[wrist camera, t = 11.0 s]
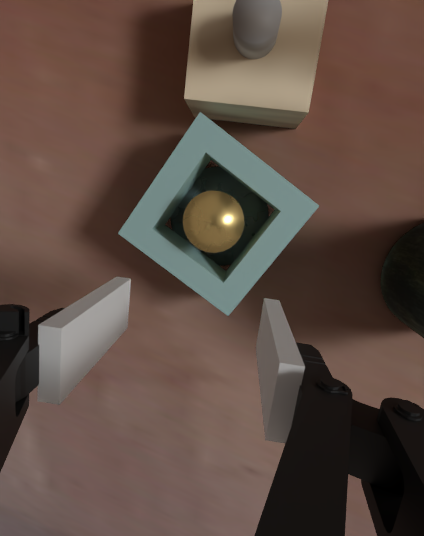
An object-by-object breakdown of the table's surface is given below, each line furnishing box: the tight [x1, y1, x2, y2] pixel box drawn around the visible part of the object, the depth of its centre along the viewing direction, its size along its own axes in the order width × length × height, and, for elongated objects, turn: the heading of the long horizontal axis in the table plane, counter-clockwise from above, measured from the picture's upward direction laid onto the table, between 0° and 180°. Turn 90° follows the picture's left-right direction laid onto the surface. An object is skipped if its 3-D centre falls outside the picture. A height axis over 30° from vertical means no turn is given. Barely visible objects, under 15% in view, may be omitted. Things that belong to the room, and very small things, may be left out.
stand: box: [184, 0, 328, 129], centre depth 22 cm, size 8×8×7 cm
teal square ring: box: [118, 112, 319, 316], centre depth 24 cm, size 10×10×4 cm
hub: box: [171, 167, 268, 266], centre depth 24 cm, size 8×8×8 cm
